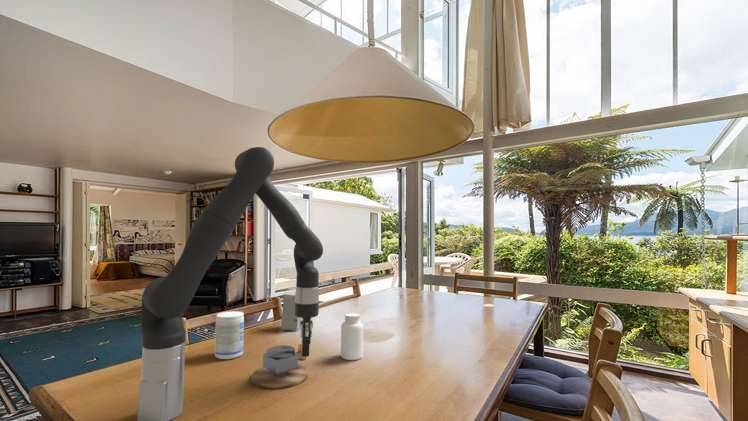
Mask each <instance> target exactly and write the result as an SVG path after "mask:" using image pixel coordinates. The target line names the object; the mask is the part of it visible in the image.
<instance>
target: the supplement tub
mask: <svg viewBox="0 0 748 421" xmlns="http://www.w3.org/2000/svg"><path fill="white" fill-rule="evenodd" d="M244 314H245V313H244V312H243V311H235V310H233V311H224V312H223V311H222V312H219V313H217V314H216V317H215V327H214V328H215V330H214V331H215V334H214V339H215V340H214V357H215V358H217V359H219V360H231V359H236V358H239V357H241V356H242V355H243V353H244V339H245V338H244V337H245V336H244V334H245V316H244Z"/></svg>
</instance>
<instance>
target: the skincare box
mask: <svg viewBox="0 0 748 421" xmlns="http://www.w3.org/2000/svg"><path fill="white" fill-rule="evenodd" d="M295 293H296V292H287V293H284V294H283V298H282V299H283V301H282V310H281V311H282V312H281V320H280V322H281V323H280V329H281V330H283V331H285V330H286V331H294V332H298V331H301V329H300V321H302V320H303V318H302V317H301V318H299V317H296V316H295Z"/></svg>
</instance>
